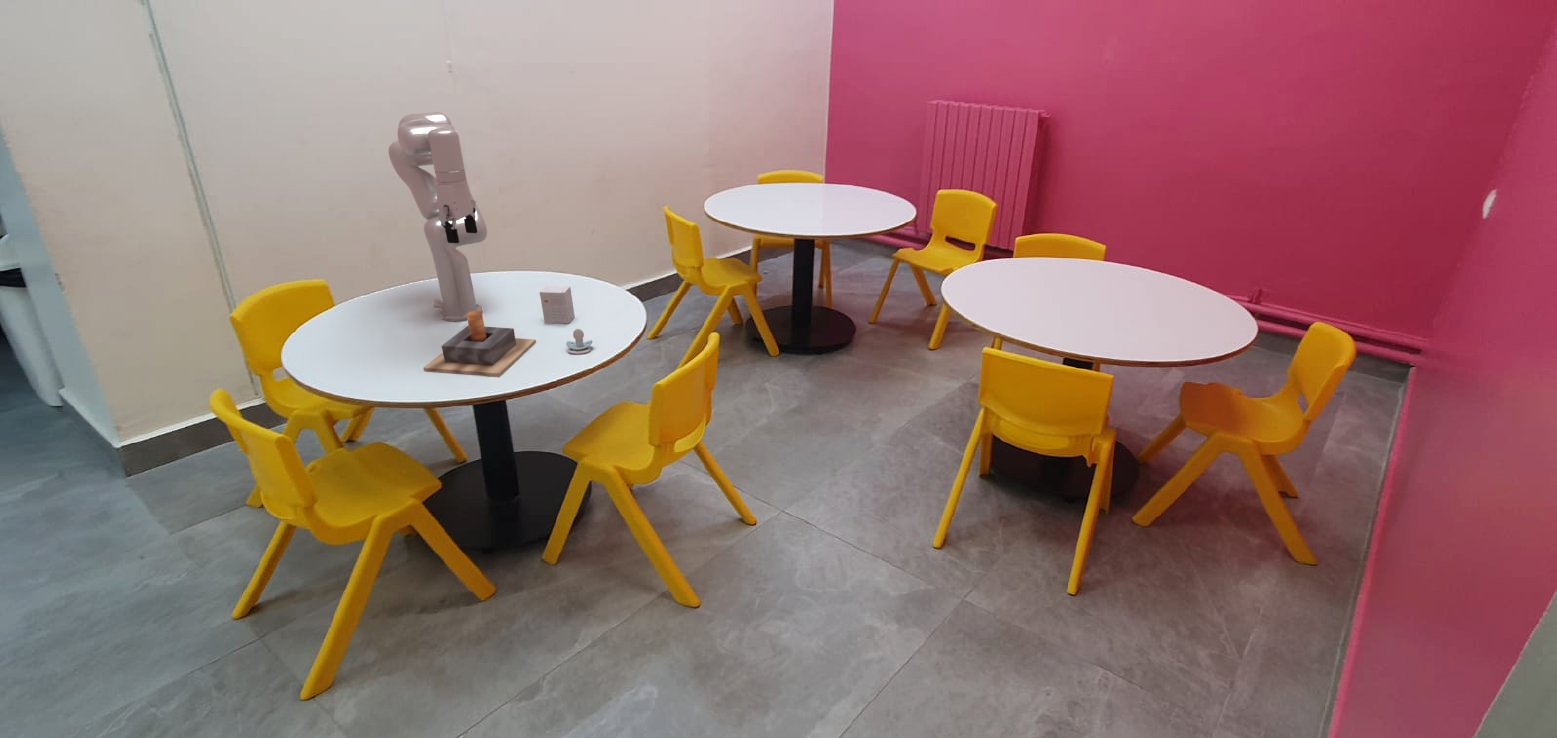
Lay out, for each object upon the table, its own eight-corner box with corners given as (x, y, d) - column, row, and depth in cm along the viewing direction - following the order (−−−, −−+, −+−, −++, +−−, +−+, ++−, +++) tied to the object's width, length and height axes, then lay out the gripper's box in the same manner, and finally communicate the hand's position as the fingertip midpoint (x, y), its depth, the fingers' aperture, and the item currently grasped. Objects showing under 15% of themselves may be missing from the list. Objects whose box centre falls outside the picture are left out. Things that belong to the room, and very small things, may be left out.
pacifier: (591, 355, 211) (594, 345, 216) (588, 335, 208) (591, 326, 213) (565, 356, 210) (568, 346, 216) (562, 336, 207) (565, 327, 213)
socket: (424, 370, 201) (419, 350, 198) (466, 337, 221) (462, 319, 218) (500, 376, 198) (496, 356, 196) (536, 342, 218) (533, 323, 215)
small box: (575, 317, 235) (571, 286, 230) (569, 324, 230) (564, 292, 225) (550, 316, 235) (546, 285, 231) (544, 323, 231) (539, 291, 226)
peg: (471, 355, 208) (463, 315, 202) (478, 349, 211) (471, 310, 206) (484, 356, 207) (477, 316, 202) (491, 350, 211) (484, 311, 205)
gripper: (455, 169, 208) (466, 228, 216) (419, 182, 193) (433, 246, 201) (480, 170, 208) (490, 229, 215) (446, 184, 192) (459, 247, 200)
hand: (463, 237), depth 208 cm, fingers open, 9 cm apart
